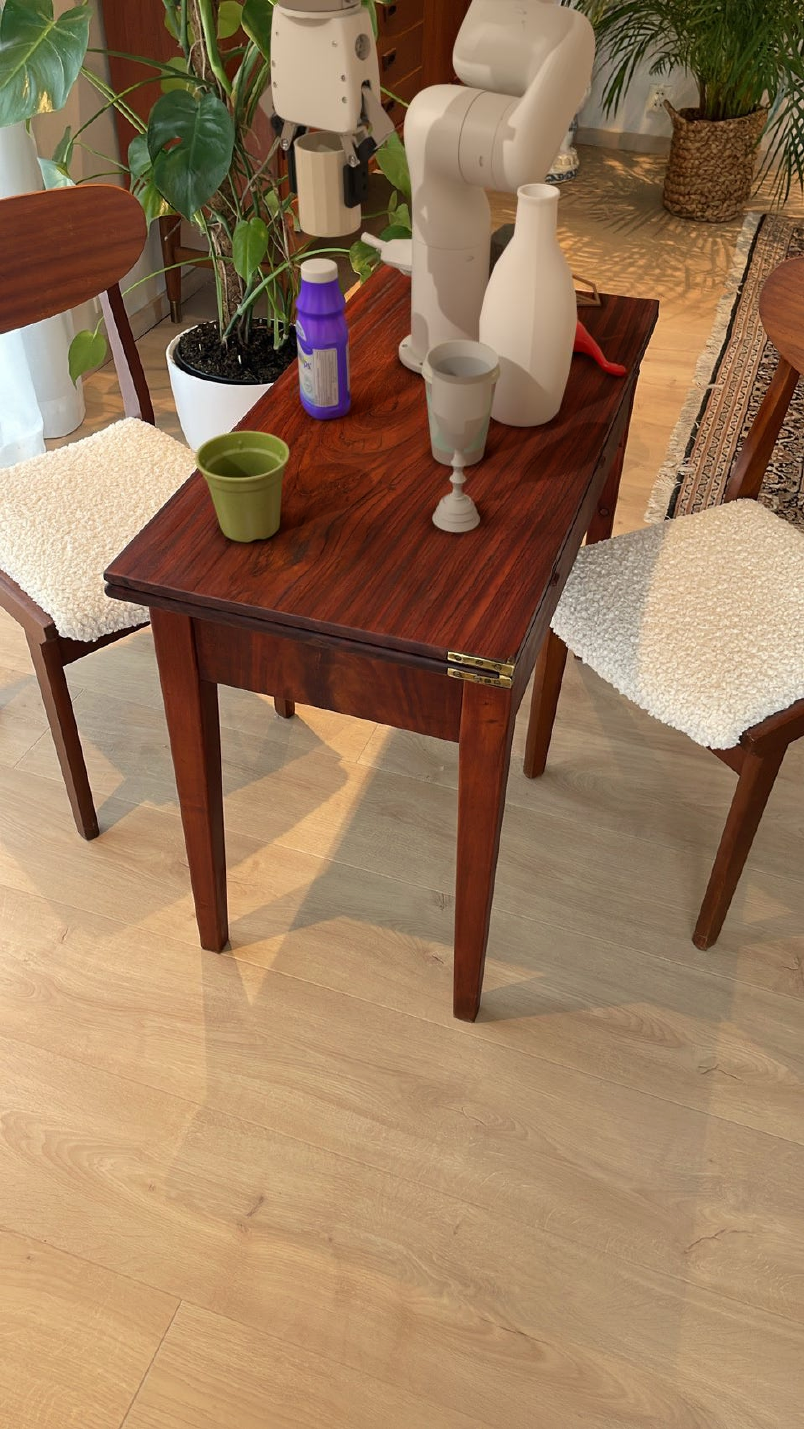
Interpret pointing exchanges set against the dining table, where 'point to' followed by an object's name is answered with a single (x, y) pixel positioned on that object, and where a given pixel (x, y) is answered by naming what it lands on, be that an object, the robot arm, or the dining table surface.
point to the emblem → (584, 300)
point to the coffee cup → (438, 442)
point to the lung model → (393, 252)
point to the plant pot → (245, 482)
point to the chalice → (460, 418)
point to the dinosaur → (594, 350)
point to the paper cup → (323, 186)
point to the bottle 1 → (322, 342)
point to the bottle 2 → (531, 314)
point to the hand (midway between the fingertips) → (328, 194)
